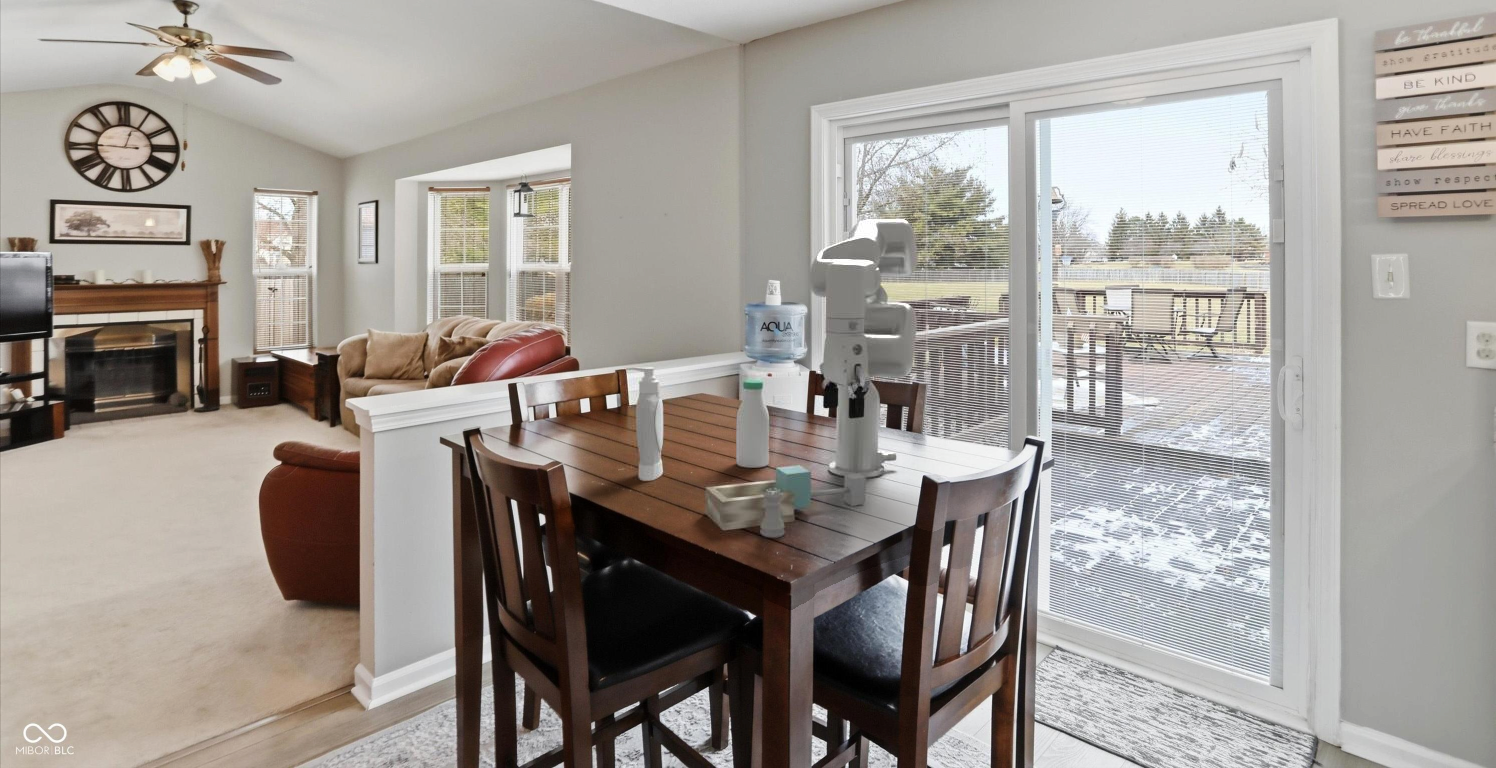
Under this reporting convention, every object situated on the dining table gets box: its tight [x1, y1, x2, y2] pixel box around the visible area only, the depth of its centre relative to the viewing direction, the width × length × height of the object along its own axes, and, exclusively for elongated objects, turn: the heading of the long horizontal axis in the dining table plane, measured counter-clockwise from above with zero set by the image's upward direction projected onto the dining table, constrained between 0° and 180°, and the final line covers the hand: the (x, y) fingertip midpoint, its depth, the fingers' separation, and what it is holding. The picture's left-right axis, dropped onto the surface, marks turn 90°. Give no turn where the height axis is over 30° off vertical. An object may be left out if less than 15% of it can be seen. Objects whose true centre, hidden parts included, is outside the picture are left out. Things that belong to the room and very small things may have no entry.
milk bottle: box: [735, 379, 770, 469], centre depth 179 cm, size 8×8×20 cm
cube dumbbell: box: [775, 464, 867, 511], centre depth 148 cm, size 18×5×8 cm, turn 112°
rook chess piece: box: [759, 488, 786, 539], centre depth 133 cm, size 4×4×8 cm
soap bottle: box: [625, 366, 664, 482], centre depth 169 cm, size 13×8×24 cm, turn 174°
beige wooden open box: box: [704, 479, 795, 531], centre depth 142 cm, size 14×10×5 cm
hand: (843, 412), depth 151 cm, fingers open, 9 cm apart
